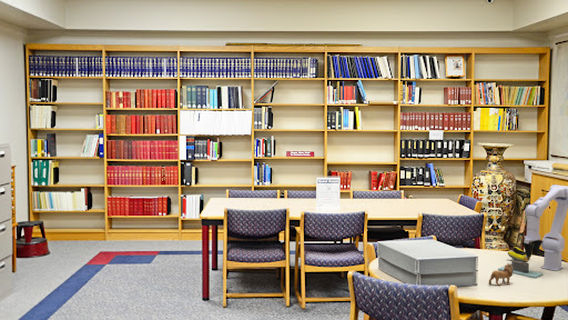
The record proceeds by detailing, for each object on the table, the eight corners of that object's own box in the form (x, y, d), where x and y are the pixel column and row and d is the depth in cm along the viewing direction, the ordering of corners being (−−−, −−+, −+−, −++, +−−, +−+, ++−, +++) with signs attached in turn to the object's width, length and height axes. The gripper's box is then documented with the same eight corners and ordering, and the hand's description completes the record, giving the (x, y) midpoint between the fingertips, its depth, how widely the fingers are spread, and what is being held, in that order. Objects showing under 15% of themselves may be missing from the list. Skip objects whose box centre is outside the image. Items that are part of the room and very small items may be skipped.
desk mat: (505, 267, 287) (506, 265, 287) (542, 274, 273) (542, 273, 273) (497, 270, 281) (498, 268, 281) (535, 278, 267) (535, 276, 267)
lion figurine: (506, 280, 263) (507, 262, 262) (515, 283, 258) (516, 265, 257) (485, 284, 256) (486, 266, 255) (494, 288, 251) (495, 268, 250)
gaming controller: (506, 260, 300) (525, 263, 294) (507, 251, 299) (526, 253, 294) (513, 255, 312) (531, 258, 306) (513, 246, 312) (532, 248, 306)
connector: (509, 267, 283) (509, 259, 282) (529, 272, 275) (530, 263, 275) (506, 268, 280) (506, 260, 280) (526, 273, 273) (527, 264, 272)
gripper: (531, 225, 281) (530, 251, 283) (518, 229, 272) (517, 256, 273) (545, 227, 276) (544, 254, 277) (532, 231, 267) (531, 258, 268)
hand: (531, 255), depth 275 cm, fingers open, 7 cm apart
